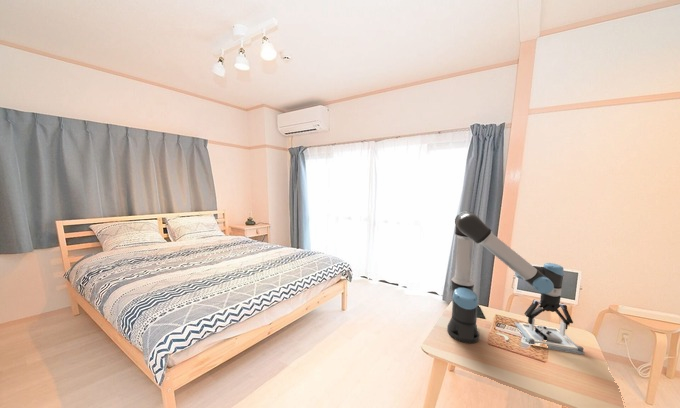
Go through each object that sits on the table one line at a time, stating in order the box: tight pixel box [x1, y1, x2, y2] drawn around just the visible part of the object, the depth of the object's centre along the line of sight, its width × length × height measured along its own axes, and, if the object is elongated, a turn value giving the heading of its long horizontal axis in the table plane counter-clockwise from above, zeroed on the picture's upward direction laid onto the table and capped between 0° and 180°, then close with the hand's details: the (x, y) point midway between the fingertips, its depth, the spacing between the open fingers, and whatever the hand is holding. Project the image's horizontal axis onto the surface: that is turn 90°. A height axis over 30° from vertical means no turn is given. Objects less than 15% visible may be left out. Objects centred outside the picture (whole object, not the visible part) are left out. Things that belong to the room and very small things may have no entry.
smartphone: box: [477, 304, 487, 320], centre depth 148 cm, size 7×1×15 cm
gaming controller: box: [535, 325, 562, 343], centre depth 122 cm, size 11×6×7 cm
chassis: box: [514, 322, 585, 355], centre depth 123 cm, size 22×18×3 cm
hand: (546, 331), depth 123 cm, fingers open, 13 cm apart
